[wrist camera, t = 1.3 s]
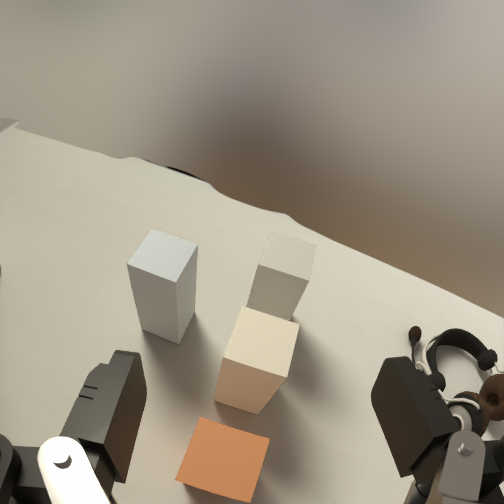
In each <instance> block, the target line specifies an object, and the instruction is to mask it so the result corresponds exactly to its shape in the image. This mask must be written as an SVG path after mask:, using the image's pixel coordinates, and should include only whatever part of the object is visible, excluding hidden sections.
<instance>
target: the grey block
mask: <svg viewBox="0 0 504 504" xmlns="http://www.w3.org/2000/svg"><path fill="white" fill-rule="evenodd" d="M315 249H316V245H313V244H310V243H307V242H304V241H301V240H298V239H294V238H291V237H288V236H285V235H282V234H279V233H276V232H273V231H270V233H269V236H268V239H267V242H266V244H265V247H264V250H263V252H262V255H261V258H260V260H259V263H258V266H257V270H256V274H255V277H254V281H253V284H252V288H251V292H250V295H249V299H248V303H247V306H246V307H247V308H250V309H253V310H256V311H260V312H263V313H266V314H269V315H272V316H275V317H278V318H281V319H284V320H287V321H289V320H290V318H291V316H292V314H293V312H294V310H295V308H296V306H297V304H298V302H299V300H300V298H301V296H302V294H303V292H304V290H305V288H306V286H307V284H308V282H309V279H310V274H311V269H312V264H313V259H314V254H315Z"/></svg>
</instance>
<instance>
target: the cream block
mask: <svg viewBox="0 0 504 504" xmlns="http://www.w3.org/2000/svg"><path fill="white" fill-rule="evenodd" d="M299 325H300V324H297V323H294V322H291V321H287V320H284V319H281V318H278V317H275V316H272V315H269V314H266V313H263V312H260V311H256V310H253V309H250V308H247V307H244V306H242V308H241V311H240V314H239V316H238V319H237V322H236V324H235V327H234V329H233V332H232V335H231V337H230V340H229V343H228V345H227V348H226V350H225V353H224V356H223V359H222V364H221V368H220V373H219V378H218V382H217V387H216V392H215V396H214V401H217V402H220V403H223V404H226V405H229V406H232V407H235V408H238V409H241V410H244V411H248V412H251V413H254V414H259V412H260V411H261V410H262V409H263V407H264V406H265V405H266V404H267V402H268V401H269V400H270V399H271V397H272V396H273V395H274V394H275V392H276V391H277V390H278V388H279V387H280V386H281V385H282V383H283V382H284V381H285V379H286V378H287V375H288V371H289V367H290V363H291V359H292V355H293V351H294V347H295V343H296V338H297V334H298V330H299Z"/></svg>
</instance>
